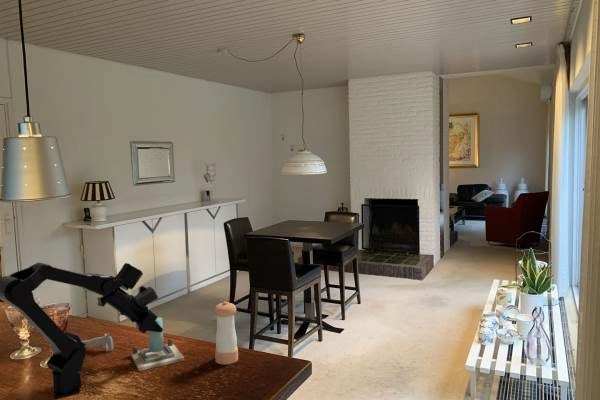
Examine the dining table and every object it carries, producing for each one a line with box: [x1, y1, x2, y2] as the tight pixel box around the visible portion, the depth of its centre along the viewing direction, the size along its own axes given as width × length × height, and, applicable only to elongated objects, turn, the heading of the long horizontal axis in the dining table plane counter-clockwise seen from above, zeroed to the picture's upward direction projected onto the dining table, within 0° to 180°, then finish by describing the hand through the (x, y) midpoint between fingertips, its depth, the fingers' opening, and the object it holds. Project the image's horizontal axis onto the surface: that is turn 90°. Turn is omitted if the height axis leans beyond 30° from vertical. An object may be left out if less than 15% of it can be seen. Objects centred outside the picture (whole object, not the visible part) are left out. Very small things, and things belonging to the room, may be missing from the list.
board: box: [130, 337, 185, 372], centre depth 152 cm, size 14×13×3 cm
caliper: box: [81, 332, 114, 352], centre depth 159 cm, size 20×1×6 cm, turn 79°
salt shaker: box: [213, 300, 239, 365], centre depth 149 cm, size 7×7×19 cm
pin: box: [148, 316, 165, 352], centre depth 151 cm, size 4×4×10 cm
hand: (159, 328), depth 152 cm, fingers closed on pin, 4 cm apart
